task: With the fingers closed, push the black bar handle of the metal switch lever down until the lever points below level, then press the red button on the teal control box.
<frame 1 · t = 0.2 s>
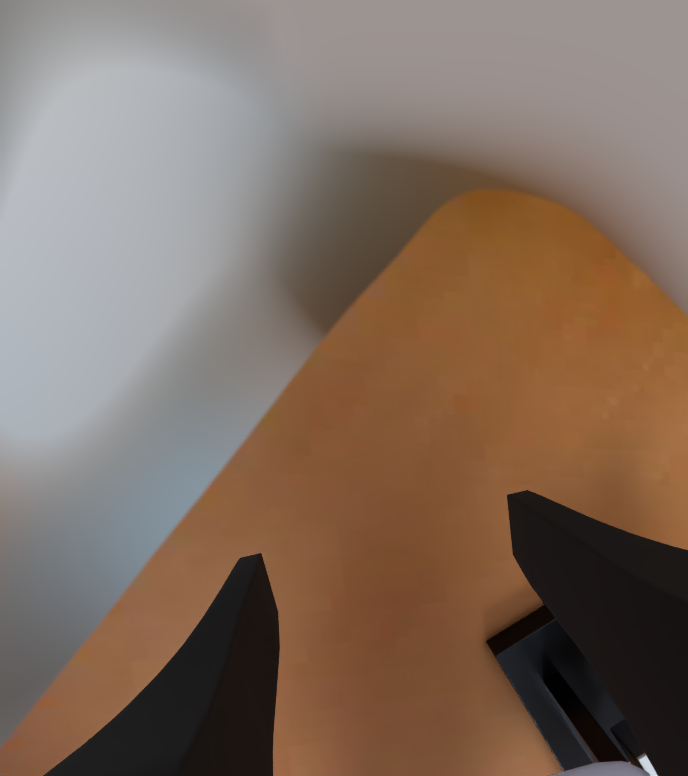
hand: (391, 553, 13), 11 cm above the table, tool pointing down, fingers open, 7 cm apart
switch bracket: (586, 672, 26), on the table
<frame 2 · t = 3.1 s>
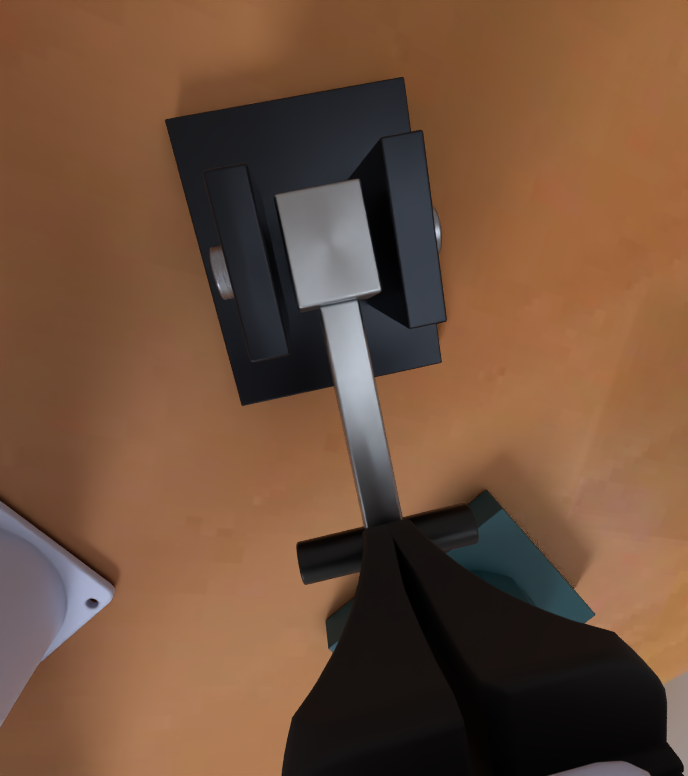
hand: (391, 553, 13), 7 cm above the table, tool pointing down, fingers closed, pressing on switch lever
switch lever: (355, 390, 13), point 6 cm above the table, hinge at 9.0°, touching gripper
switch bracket: (315, 253, 18), on the table
button box: (453, 605, 23), on the table
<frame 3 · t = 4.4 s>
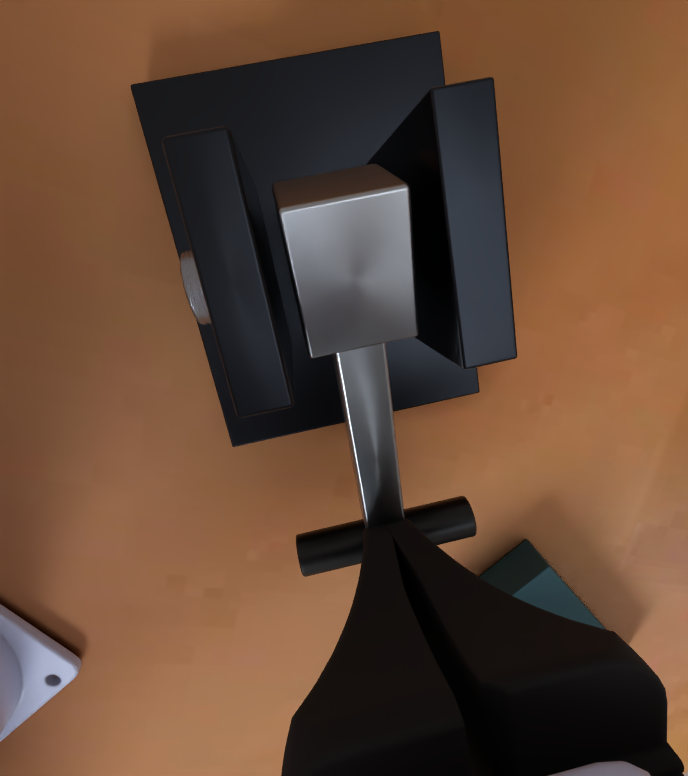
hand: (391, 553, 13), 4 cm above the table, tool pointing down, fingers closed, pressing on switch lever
switch lever: (367, 412, 11), point 4 cm above the table, hinge at -17.5°, touching gripper
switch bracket: (323, 257, 14), on the table
button box: (484, 670, 20), on the table
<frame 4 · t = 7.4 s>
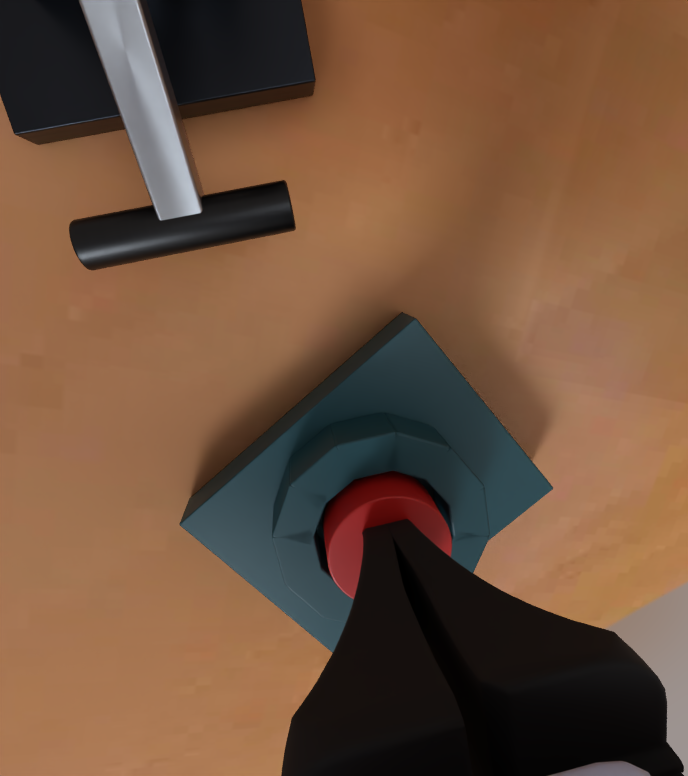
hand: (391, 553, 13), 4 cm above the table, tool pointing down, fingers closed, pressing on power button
power button: (384, 536, 14), point 3 cm above the table, slide at -0.4 cm, touching gripper
button box: (365, 482, 17), on the table
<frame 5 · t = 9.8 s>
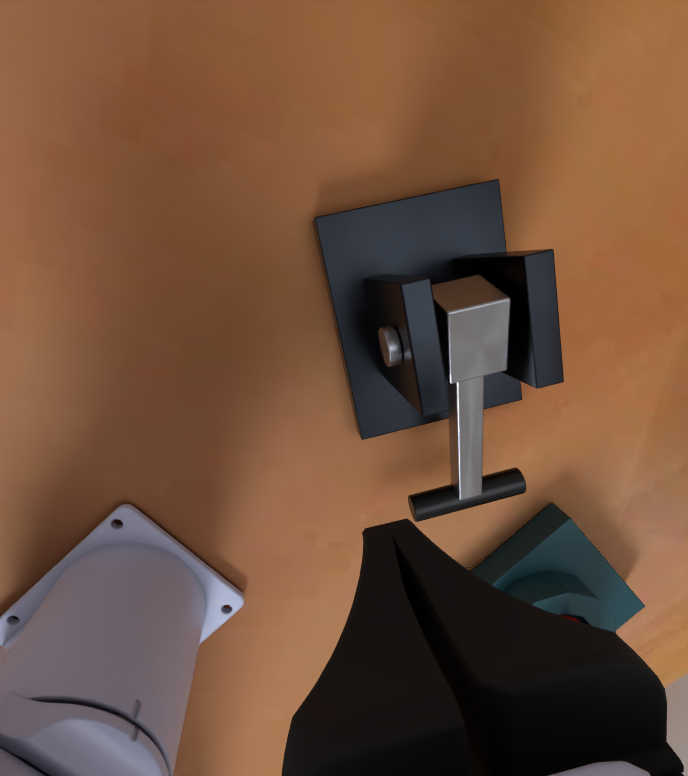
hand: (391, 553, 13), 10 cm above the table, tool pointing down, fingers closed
switch lever: (465, 413, 19), point 4 cm above the table, hinge at -17.6°
power button: (563, 657, 23), point 4 cm above the table, slide at 0.1 cm
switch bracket: (419, 313, 22), on the table
button box: (522, 602, 27), on the table
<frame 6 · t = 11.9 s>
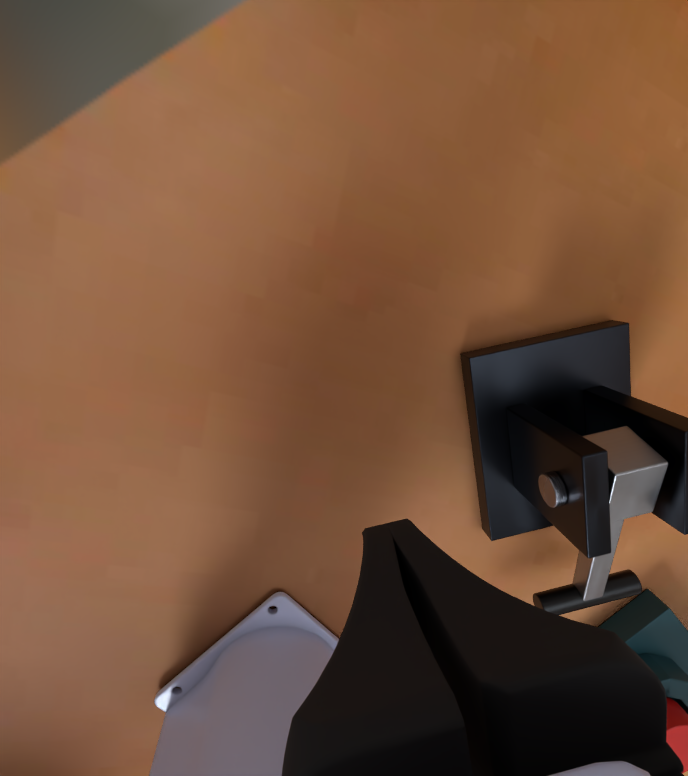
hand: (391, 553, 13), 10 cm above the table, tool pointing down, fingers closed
switch lever: (600, 534, 21), point 4 cm above the table, hinge at -17.6°
power button: (663, 736, 26), point 4 cm above the table, slide at 0.1 cm
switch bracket: (544, 429, 25), on the table
button box: (614, 675, 30), on the table
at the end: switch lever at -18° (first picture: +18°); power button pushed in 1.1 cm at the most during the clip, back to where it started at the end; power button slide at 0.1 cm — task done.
